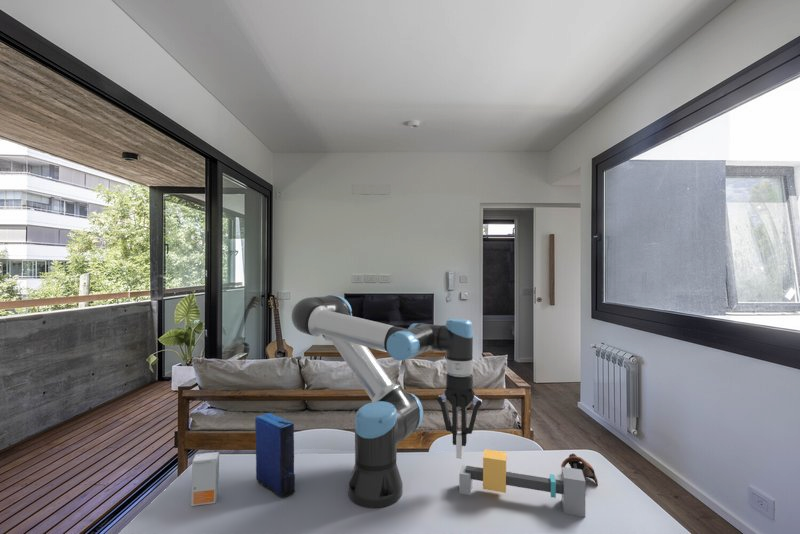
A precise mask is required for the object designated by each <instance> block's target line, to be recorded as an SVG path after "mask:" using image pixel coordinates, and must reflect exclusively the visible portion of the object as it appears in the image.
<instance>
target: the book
mask: <svg viewBox="0 0 800 534" xmlns="http://www.w3.org/2000/svg"><path fill="white" fill-rule="evenodd" d="M254 422H255V427H254V428H255V475H256V476H255V478H256V481H257V482H258V483H259V484H260V485H262V486H263V487H265V488H268V490H271V491H272V492H274V493H275V494H277V495H278V497H281V498H282V497H283V498H285V497H287V496H290V495H293V493H295V490H296V489H295V488H296V487H295V486H296V476H295V475H296V474H295V430H294V429H295V424H294V422H293V421H289V420H288V419H287V420H286V419H284V418H282V417H279V416H277V415H274V414H273V413H271V412H267V413H263V414H260V415H258V416H255V421H254Z"/></svg>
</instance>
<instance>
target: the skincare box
mask: <svg viewBox="0 0 800 534" xmlns="http://www.w3.org/2000/svg"><path fill="white" fill-rule="evenodd" d="M191 465H192V466H191V468H192V469H191V493H190V494H191V497H190V498H191V500H190V502H191V503H190V505H191V507H195V506H202V505H212V504H216V502H217V500H218V497H219V483H220V481H219V478H220V475H219V474H220V451H214V452H205V453H197V454H195V455H194V457H193V459H192V461H191Z"/></svg>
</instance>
